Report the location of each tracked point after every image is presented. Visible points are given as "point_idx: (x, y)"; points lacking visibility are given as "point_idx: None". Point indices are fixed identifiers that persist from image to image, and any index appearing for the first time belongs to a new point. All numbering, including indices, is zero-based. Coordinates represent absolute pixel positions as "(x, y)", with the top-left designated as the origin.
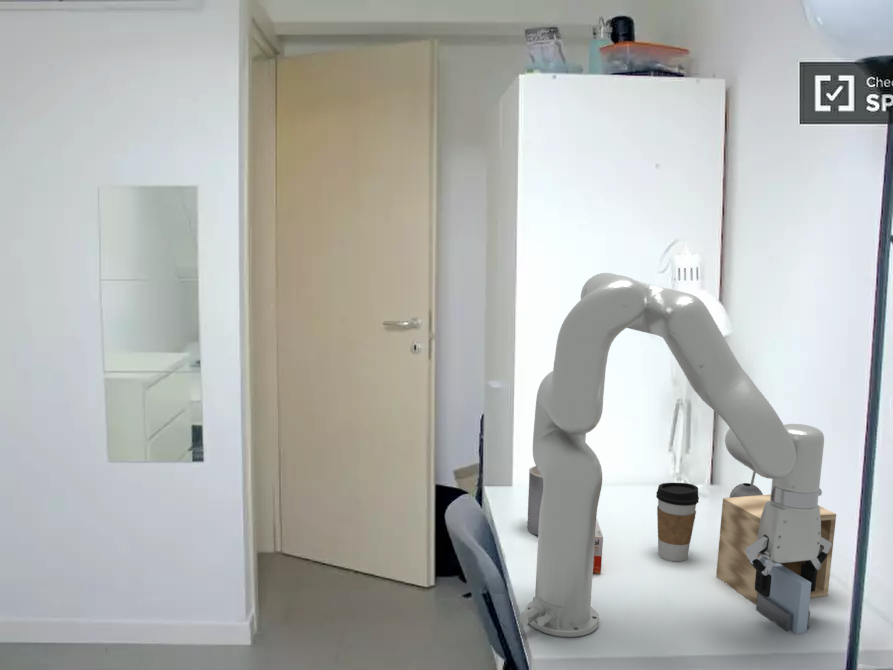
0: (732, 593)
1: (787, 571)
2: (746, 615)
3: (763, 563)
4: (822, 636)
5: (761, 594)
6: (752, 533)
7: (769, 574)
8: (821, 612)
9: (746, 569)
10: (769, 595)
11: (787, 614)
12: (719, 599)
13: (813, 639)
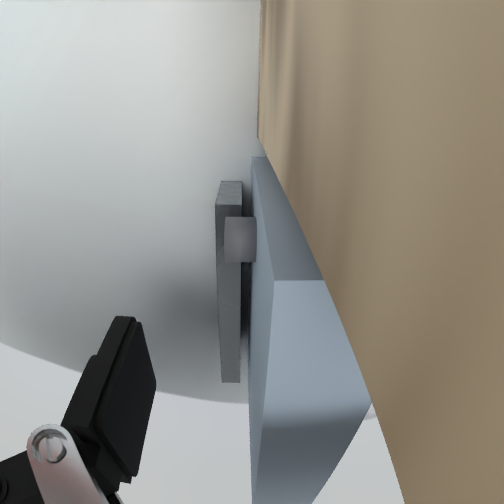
0: (222, 16)
1: (301, 466)
2: (148, 214)
3: (98, 489)
4: None
5: (233, 214)
6: None
7: (125, 478)
8: None
9: (271, 12)
10: (154, 387)
11: (222, 378)
12: (120, 61)
13: None
